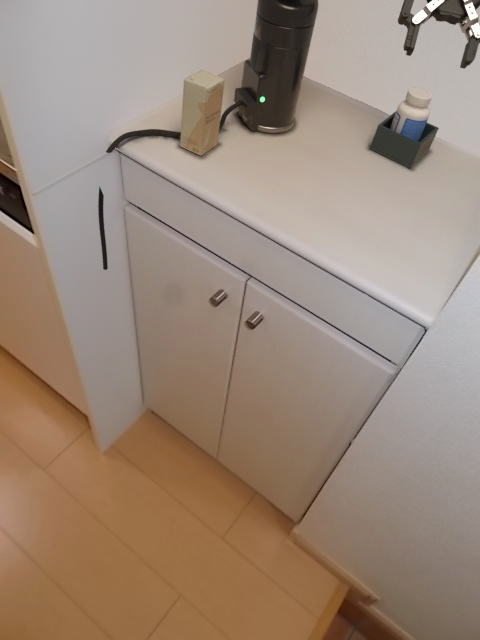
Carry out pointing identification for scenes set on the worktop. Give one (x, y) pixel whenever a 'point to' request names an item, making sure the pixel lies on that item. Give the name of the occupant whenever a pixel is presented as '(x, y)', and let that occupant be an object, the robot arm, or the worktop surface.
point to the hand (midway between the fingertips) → (437, 59)
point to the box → (201, 111)
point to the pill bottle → (412, 113)
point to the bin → (402, 143)
